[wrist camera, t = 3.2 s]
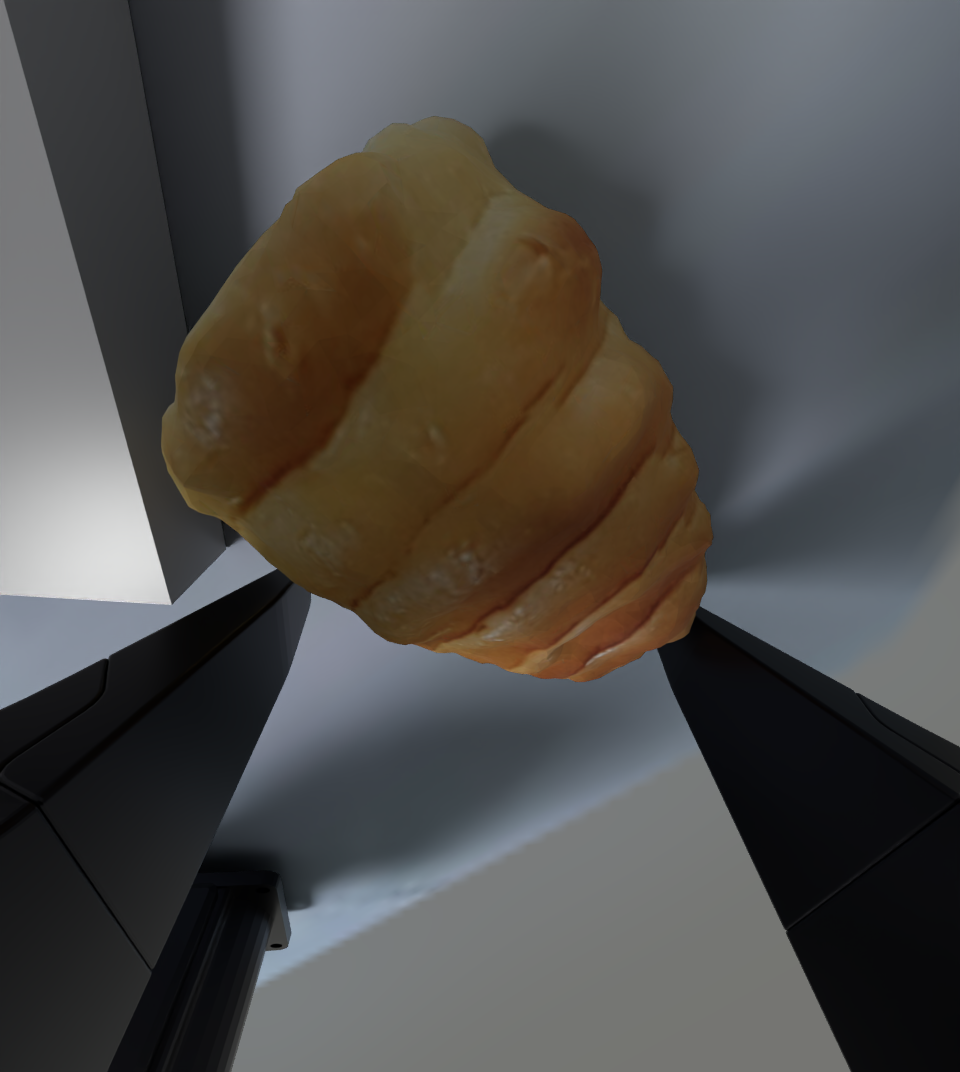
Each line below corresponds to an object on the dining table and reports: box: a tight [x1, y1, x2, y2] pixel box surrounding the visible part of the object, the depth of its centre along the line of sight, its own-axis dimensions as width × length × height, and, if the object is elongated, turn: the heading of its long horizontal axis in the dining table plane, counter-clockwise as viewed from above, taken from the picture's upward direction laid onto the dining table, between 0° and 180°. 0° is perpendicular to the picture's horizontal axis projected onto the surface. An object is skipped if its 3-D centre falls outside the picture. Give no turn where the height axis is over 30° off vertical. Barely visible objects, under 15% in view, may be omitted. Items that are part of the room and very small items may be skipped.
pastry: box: [161, 116, 713, 682], centre depth 6 cm, size 9×7×4 cm
